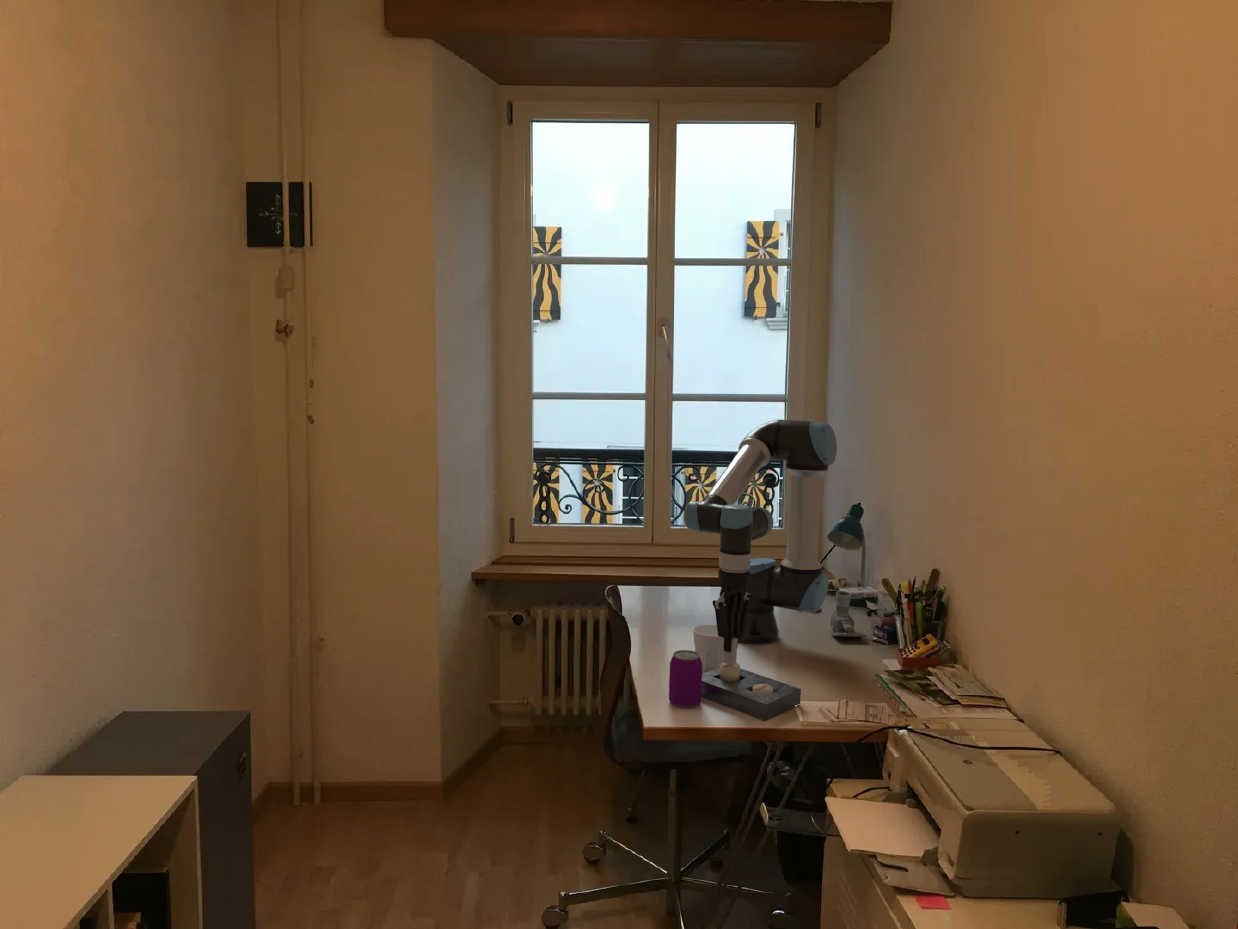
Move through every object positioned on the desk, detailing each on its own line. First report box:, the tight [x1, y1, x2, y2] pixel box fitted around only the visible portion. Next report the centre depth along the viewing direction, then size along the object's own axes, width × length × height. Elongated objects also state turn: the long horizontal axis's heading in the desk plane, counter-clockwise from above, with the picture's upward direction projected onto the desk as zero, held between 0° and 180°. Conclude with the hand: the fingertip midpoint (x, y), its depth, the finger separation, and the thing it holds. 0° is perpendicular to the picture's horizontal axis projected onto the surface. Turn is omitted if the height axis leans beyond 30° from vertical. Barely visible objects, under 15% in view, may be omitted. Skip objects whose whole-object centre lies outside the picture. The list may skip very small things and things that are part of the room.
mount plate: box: [701, 667, 802, 722], centre depth 211 cm, size 14×22×4 cm, turn 44°
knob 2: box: [752, 684, 773, 696], centre depth 207 cm, size 5×5×4 cm
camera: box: [830, 590, 867, 638], centre depth 262 cm, size 9×12×15 cm
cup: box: [692, 624, 724, 672], centre depth 232 cm, size 10×10×10 cm
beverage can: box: [668, 649, 703, 709], centre depth 207 cm, size 8×8×12 cm
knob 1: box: [720, 662, 741, 684], centre depth 214 cm, size 5×5×4 cm
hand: (729, 663), depth 213 cm, fingers closed
